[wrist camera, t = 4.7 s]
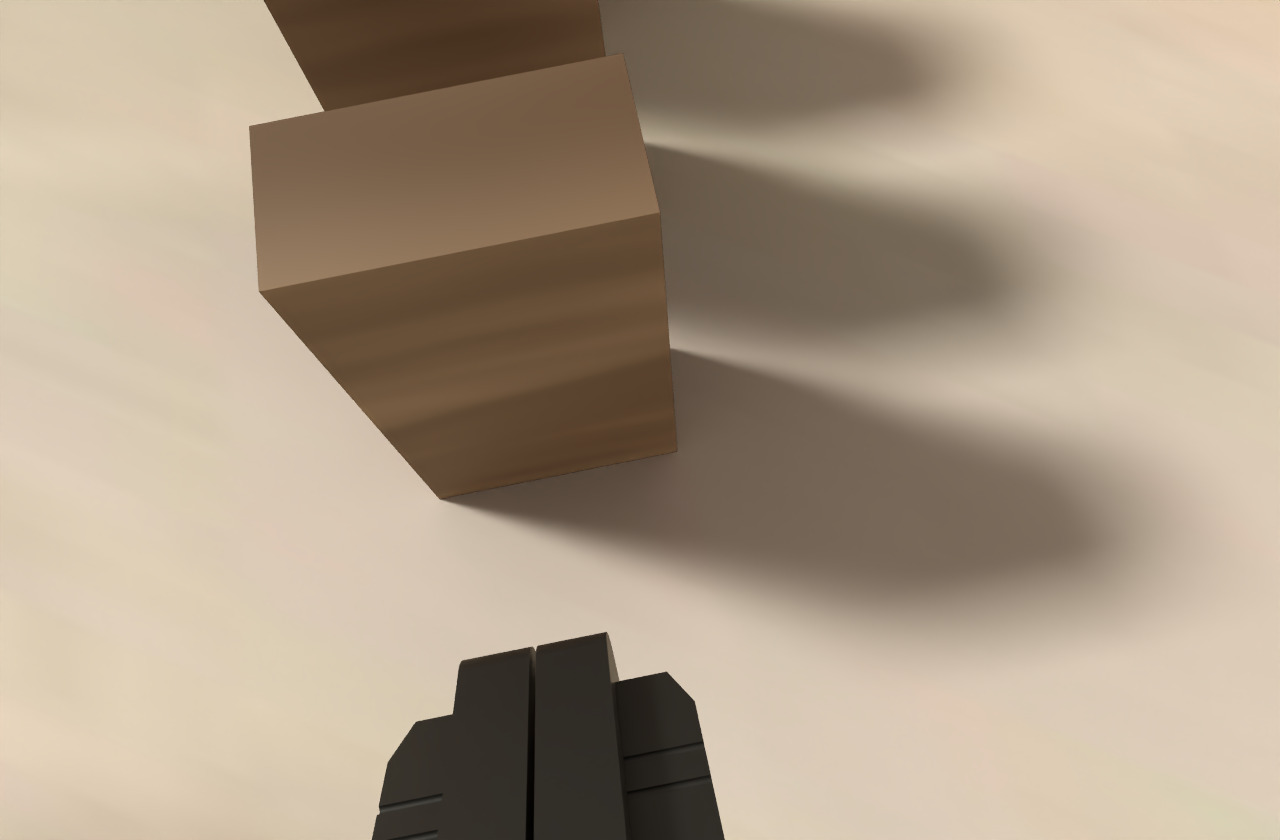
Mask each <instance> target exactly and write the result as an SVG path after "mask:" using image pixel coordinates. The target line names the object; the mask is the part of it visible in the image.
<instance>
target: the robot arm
mask: <svg viewBox="0 0 1280 840" xmlns="http://www.w3.org/2000/svg"><path fill="white" fill-rule="evenodd" d="M379 809H380V814H379V815H377V817H376V822H375V827H374V832H373V837H372V840H725V839H724V834H723V830H722V825H721V820H720V816H719V811H718V807H717V802H716V797H715V793H714V788H713V784H712V779H711V774H710V770H709V765H708V760H707V756H706V751H705V747H704V742H703V737H702V733H701V728H700V724H699V719H698V714H697V710H696V705H695V701H694V700H693V699H692V698H691V697H690V696H689V695H688V694H687V693H686V692H685V691H684V689H683V688H682V687H681V686H680V685H679V684H678V683H677V682H676V681H675V680H674V679H673V678H672V677H671V676H670V675H669V674H668V673H667V672H663V673H658V674H653V675H648V676H643V677H638V678H633V679H628V680H623V681H619V677H618V673H617V668H616V664H615V659H614V655H613V651H612V646H611V642H610V639H609V635H608V633H607V632H604V633H599V634H594V635H589V636H584V637H579V638H574V639H569V640H564V641H559V642H554V643H549V644H544V645H539V646H537V649H536V651H535V649H534V648H533V647H528V648H523V649H518V650H513V651H508V652H503V653H498V654H493V655H488V656H483V657H478V658H473V659H468V660H463V661H461V663H460V666H459V671H458V679H457V686H456V694H455V702H454V710H453V714H452V715H447V716H442V717H437V718H432V719H427V720H422V721H417V722H416V723H415V724H414V725H413V727H412V728H411V730H410V731H409V733H408V734H407V736H406V737H405V738H404V740H403V741H402V743H401V744H400V746H399V747H398V749H397V750H396V751H395V753H394V754H393V756H392V757H391V759H390V760H389V762H388V764H387V769H386V774H385V778H384V783H383V788H382V793H381V798H380V803H379Z"/></svg>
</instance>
